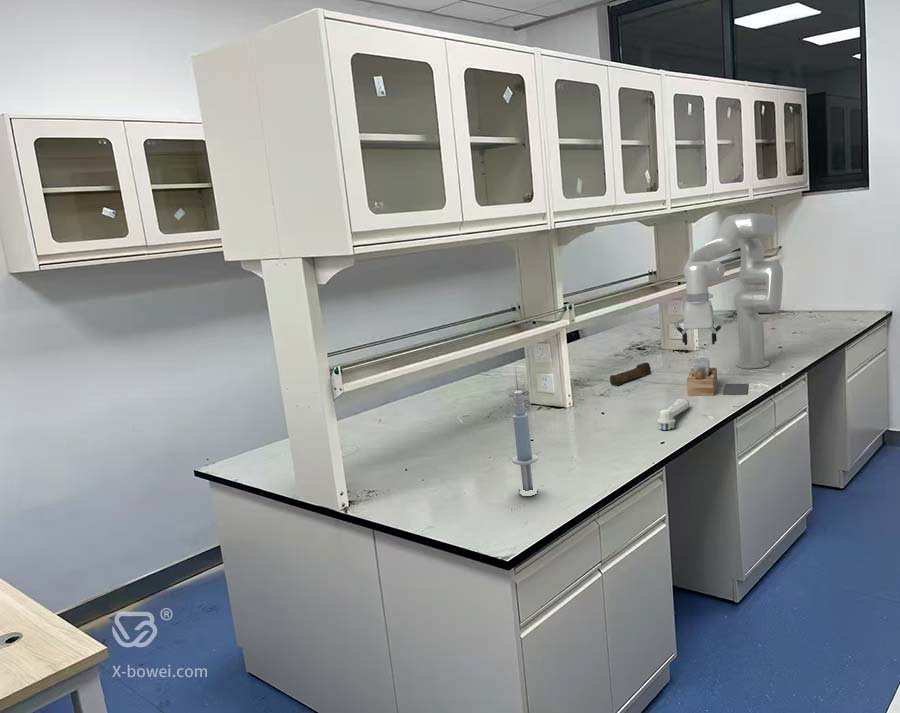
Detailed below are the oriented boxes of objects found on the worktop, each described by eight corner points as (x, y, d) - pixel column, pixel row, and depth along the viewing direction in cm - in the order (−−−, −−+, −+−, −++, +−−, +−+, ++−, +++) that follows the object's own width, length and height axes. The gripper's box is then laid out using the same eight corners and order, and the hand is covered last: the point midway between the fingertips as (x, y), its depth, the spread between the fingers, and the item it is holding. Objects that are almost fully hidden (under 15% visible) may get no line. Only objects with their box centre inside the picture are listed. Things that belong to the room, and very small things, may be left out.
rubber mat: (725, 384, 268) (725, 383, 267) (748, 384, 264) (748, 383, 264) (722, 394, 255) (722, 393, 255) (746, 394, 252) (746, 393, 252)
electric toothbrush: (691, 397, 244) (671, 409, 222) (691, 417, 244) (671, 430, 223) (675, 397, 246) (654, 408, 225) (676, 416, 247) (655, 429, 226)
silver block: (696, 379, 269) (695, 358, 267) (710, 378, 267) (709, 358, 265) (694, 383, 263) (693, 362, 261) (708, 383, 261) (707, 362, 259)
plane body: (692, 383, 275) (691, 358, 273) (717, 382, 271) (716, 357, 270) (687, 395, 259) (686, 369, 257) (713, 395, 256) (712, 368, 254)
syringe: (521, 499, 186) (508, 364, 179) (517, 489, 192) (505, 359, 186) (542, 496, 186) (531, 361, 179) (538, 487, 192) (526, 356, 186)
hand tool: (618, 387, 283) (617, 374, 282) (609, 385, 287) (608, 372, 286) (656, 375, 295) (656, 362, 294) (647, 373, 299) (647, 361, 298)
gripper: (723, 295, 258) (725, 341, 261) (674, 298, 266) (676, 342, 269) (722, 298, 252) (724, 345, 255) (671, 300, 259) (673, 346, 262)
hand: (699, 344), depth 262 cm, fingers open, 9 cm apart
